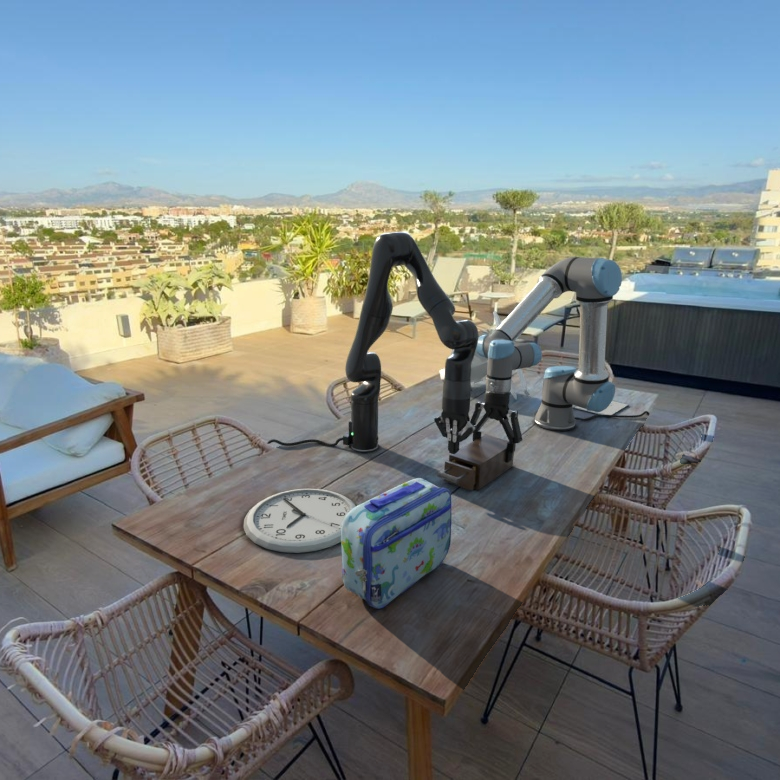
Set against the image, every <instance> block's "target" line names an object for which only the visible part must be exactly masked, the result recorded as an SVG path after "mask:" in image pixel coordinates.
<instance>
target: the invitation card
mask: <svg viewBox="0 0 780 780" xmlns="http://www.w3.org/2000/svg"><path fill="white" fill-rule="evenodd" d="M628 406H629V404H627V403H623V402H618V401H614V400H612V402H611V403H610V405H609V406H608V407H607V408H606V409H605V410H603V411H601V412H594V411H589V410H587V409H584V408H581V407H578V406H574V407H573V409H575V410H581V411H584V412H587V413H593V414H595V415H615V414H616V413H617V412H619V411H621V410H623V409H624V408H626V407H628Z"/></svg>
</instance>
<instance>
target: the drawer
mask: <svg viewBox="0 0 780 780" xmlns="http://www.w3.org/2000/svg"><path fill="white" fill-rule="evenodd" d="M436 477H438V478H441V479H442V480H443V481H444V482H447V483H450V484H452V485H455V486H458V487H460V488H463V489H466V490H469V491H474V489H473V488H474V485H475V484H476V480H477V467H476V466H473V465H470V464H467V463H464V462H461V461H458V460H455V459H454V460H452V462H451V461H449V459H448V460H445V461H444V470H442V471H440V470H439V471H438V472H437V474H436Z"/></svg>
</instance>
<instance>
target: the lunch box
mask: <svg viewBox="0 0 780 780" xmlns="http://www.w3.org/2000/svg"><path fill="white" fill-rule="evenodd" d="M451 539H452V494H451V491H450V490H449V488H446V487H439V486H437V485H435V484H434V483H432V482H430V481H428V480H426V479H424V478H421V477H416V478H413V479H410V480H408V481H405V482H403V483H402V484H398V485H397V486H395V487H392V488H390V489H389V490H386V491H384V492H382V493H380V494H378V495H375V496H374V497H372V498H370V499H369V500H366V501H364V502H363V503H360V504H358V505H356V507H354V508H353V509H351V510H350V511H349V512H348V514H347V515H346V517H345V518H344V520H343V523H342V528H341V542H340V546H341V569H342V570H341V571H342V582H343V585H344V588H345V589H346V590H347V591H349V592H351V593H353V594H355V595H356V596H358V597H359V598H361V599H362V600H364V601H365V602H366V603H367V605H368V606H370V607H372V608H374V609H378V610H379V609H380V610H381V609H383V608H384V607H387V605H389V604H390V603H391V602H392V601H393V600H395V599H396V598H397V597H399V596H400V595H402V594H403V593H404V592H405V591H407V590H408V589H409V588H411V587H412V586H413V585H415V584H416V583H418V581H419V580H420V579H421V578H423V577H425V576H427V575H428V574H429V573H431V572H432V571H434V570H435V569H437V568H438V567H439V566H441V564H442V563H443V562H444V561H445V559H446V557H447V556H448V554H449V550H450V547H451V541H452V540H451Z"/></svg>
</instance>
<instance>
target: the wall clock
mask: <svg viewBox="0 0 780 780" xmlns="http://www.w3.org/2000/svg"><path fill="white" fill-rule="evenodd" d="M356 506H357V504H356V503H355V502H354V501H353V500H351V499H350V498H348V497H347V496H345V495H344V494H341V493H338V492H335V491H332V490H327V489H322V488H299V489H298V488H297V489H291V490H286V491H281V492H278V493H275V494H273V495H269V496H268V497H266V498H264V499H262V500H260V501H259V502H257V503H256V504H255V505H253V506H252V508H250V509H249V510H248V511H247V513H246V515H245V517H244V519H243V530H244V532H245V535H246V537H247V538H248V539H249V540H251V542H252V543H254V545H255V544H256V545H257V546H260V547H262V548H264V549H266V550H270V551H274V552H280V553H294V554H295V553H296V554H300V553H310V552H317V551H320V550H324V549H328V548H331V547H333V546H335V545H337V544H339V543H340V544H341V528H342V523H343V520H344V518H345V517H346V515H347V514H348V512H349V511H350V510H351V509H353V508H354V507H356Z"/></svg>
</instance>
